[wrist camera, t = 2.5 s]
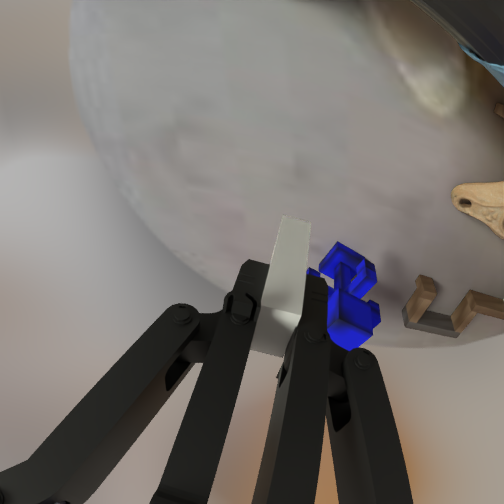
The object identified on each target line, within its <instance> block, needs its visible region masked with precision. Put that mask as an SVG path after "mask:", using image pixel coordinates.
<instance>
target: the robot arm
mask: <svg viewBox="0 0 504 504" xmlns="http://www.w3.org/2000/svg"><path fill="white" fill-rule="evenodd" d="M410 1H411V2H412V3H414V4H415V5H416V6H417V7H419V8H420V9H421V10H422V11H424V12H425V13H426V14H427V15H429V16H430V17H431V18H432V19H433V20H434V21H436V22H437V23H438V24H439V25H440V26H441V27H443V28H444V29H445V30H446V31H447V32H448V33H449V34H450V35H451V36H452V37H453V38H454V39H456V40H457V42H458V44H459V46H460V48H461V49H462V50H463V51H464V52H465V53H466V54H467V55H469V56H470V57H471V58H472V59H474V60H475V61H477V62H479V63H481V64H482V65H483V66H484V67H485V68H486V69H487V70H488V71H489V72H490V73H491V74H492V75H493V76H494V77H495V78H496V79H497V80H498V82H499V83H500V84H501V85H502V86H503V87H504V0H410ZM310 229H311V222H308V221H305V220H301V219H297V218H294V217H290V216H286V215H283V217H282V220H281V224H280V228H279V232H278V236H277V239H276V243H275V247H274V251H273V254H272V258H271V262H270V265H269V264H265V263H261V262H258V261H254V260H250V259H249V260H247V261H246V262H245V263H244V264H242V266H241V269H240V271H239V274H238V277H237V280H236V282H235V285H234V287H233V290H232V291H231V292H229V293H227V295H226V296H225V298H224V304H223V310H221V311H219V312H216V313H199V312H198V311H197V309H195V308H194V307H193V306H191V305H188V304H180V303H178V304H175V305H172V306H170V307H169V308H167V309H166V310H165V312H164V313H163V314H162V315H161V316H160V317H159V318H158V319H157V320H156V321H155V322H154V323H153V324H152V325H151V326H150V327H149V328H148V329H147V330H146V332H144V333H143V335H142V336H141V337H140V338H139V339H138V340H137V341H136V342H135V343H134V344H133V345H132V346H131V347H130V348H129V349H128V350H127V351H126V353H125V354H124V355H123V356H122V357H121V358H120V359H119V360H118V361H117V362H116V363H115V364H114V365H113V366H112V367H111V369H110V370H109V371H108V372H107V373H106V374H105V375H104V376H103V377H102V378H101V379H100V380H99V381H98V382H97V384H96V385H95V386H94V387H93V388H92V389H91V390H90V391H89V392H88V393H87V394H86V396H85V397H84V398H83V399H82V400H81V401H80V402H79V403H78V404H77V405H76V406H75V407H74V409H73V410H72V411H71V412H70V413H69V414H68V415H67V416H66V417H65V419H64V420H63V421H62V422H61V423H60V424H59V425H58V426H57V427H56V428H55V430H54V431H53V432H52V433H51V434H50V435H49V436H48V437H47V438H46V440H45V441H44V442H43V443H42V444H41V445H40V446H39V448H38V449H37V450H36V451H35V452H34V453H33V454H32V455H31V457H30V458H29V459H28V460H26V461H24V462H22V463H20V464H18V465H16V466H13V467H11V468H9V469H6V470H4V471H2V472H0V504H83V503H84V502H86V500H88V499H89V498H90V496H91V495H92V494H93V493H94V492H95V491H96V490H97V489H98V487H99V486H100V485H101V484H102V482H103V481H104V480H105V479H106V477H107V476H108V475H109V474H110V472H111V471H112V470H113V468H114V467H115V466H116V465H117V464H118V462H119V461H120V460H121V459H122V457H123V456H124V455H125V453H126V452H127V451H128V450H129V449H130V447H131V446H132V445H133V443H134V442H135V441H136V440H137V438H138V437H139V436H140V434H141V433H142V432H143V431H144V429H145V428H146V427H147V426H148V424H149V423H150V422H151V420H152V419H153V418H154V417H155V415H156V414H157V413H158V411H159V410H160V409H161V407H162V406H163V405H164V404H165V402H166V401H167V400H168V398H169V397H170V396H171V394H172V393H173V392H174V390H175V389H176V388H177V387H178V385H179V384H180V383H181V381H182V380H183V379H184V377H185V376H186V375H187V373H188V372H189V371H190V370H191V368H192V367H193V366H194V364H195V363H203V366H202V369H201V371H200V374H199V377H198V380H197V382H196V385H195V388H194V391H193V393H192V396H191V399H190V401H189V404H188V407H187V409H186V412H185V415H184V418H183V420H182V423H181V426H180V429H179V431H178V434H177V437H176V440H175V442H174V445H173V448H172V451H171V454H170V456H169V459H168V462H167V465H166V467H165V470H164V473H163V476H162V478H161V482H160V484H159V487H158V489H157V490H156V492H155V493H154V495H153V497H152V499H151V501H150V504H207V502H208V498H209V495H210V492H211V488H212V485H213V481H214V478H215V474H216V471H217V467H218V464H219V460H220V457H221V453H222V449H223V446H224V443H225V439H226V435H227V432H228V428H229V425H230V421H231V417H232V413H233V410H234V407H235V403H236V399H237V395H238V392H239V388H240V385H241V381H242V377H243V373H244V370H245V366H246V362H247V358H248V354H249V351H250V350H254V351H258V352H262V353H266V354H270V355H274V356H278V357H282V358H283V356H284V354H285V356H284V362H283V364H282V366H281V368H280V370H279V372H278V374H277V377H276V378H278V384H277V389H276V394H275V399H274V404H273V409H272V414H271V419H270V424H269V429H268V434H267V438H266V443H265V448H264V452H263V457H262V461H261V465H260V470H259V474H258V478H257V483H256V487H255V491H254V495H253V500H252V504H314V502H315V496H316V489H317V483H318V475H319V468H320V461H321V452H322V444H323V435H324V425H325V416H326V419H327V425H328V431H329V437H330V444H331V450H332V457H333V464H334V471H335V478H336V485H337V493H338V500H339V504H413V499H412V495H411V489H410V484H409V479H408V474H407V470H406V465H405V461H404V457H403V452H402V448H401V444H400V440H399V435H398V432H397V428H396V424H395V420H394V416H393V413H392V409H391V405H390V402H389V398H388V395H387V391H386V388H385V384H384V381H383V377H382V374H381V371H380V367H379V364H378V361H377V359H376V357H375V355H373V354H372V353H371V352H370V351H369V350H366V349H364V348H353V349H352V350H351V351H348V350H346V349H344V348H342V347H340V346H339V345H337V344H336V343H334V342H333V341H332V339H331V338H330V335H329V333H328V331H327V317H328V285H327V283H326V281H325V279H324V278H321V277H317V276H314V275H310V274H306V271H307V261H308V251H309V240H310Z"/></svg>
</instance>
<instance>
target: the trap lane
mask: <svg viewBox="0 0 504 504" xmlns="http://www.w3.org/2000/svg"><path fill="white" fill-rule="evenodd" d="M494 113H496V114H497V115H499V116H501V117H502V118H504V105H502V104H499V103H496V107H495V110H494ZM415 282H416V286H417V289H416V290H415V292H414V294H413V295H412V297H411V298H410V300H409V301H408V303H407V304H406V306H405V307H404V309H403V310H402V314H403V320H404V325H405V327H406V328H410V329H415V330H420V331H424V332H429V333H434V334H438V335H443V336H448V337H453V338H457V337H458V336H459V335H460V333H461V332H462V331H463V330H464V329H465V327H466V326H467V325H468V324H469V323H470V321H471V320H472V319H473V318H474V316H475V315H476V314H477V313H481V314H484V315H488V316H492V317H496V318H500V319H503V320H504V299H503V300H502V299H499V298H495V297H492V296H489V295H486V294H483V293H479V292H476V291H473V290H469V292H468V293H467V295H466V296H465V297H464V299H463V300H462V302H461V303H460V304H459V306H458V307H457V308H456V310H455V311H454V312H453V314H452V315H451V316H447V315H443V314H439V313H435V312H431V311H427V310H426V309H427V308H428V306H429V305H430V304H431V302H432V301H433V299H434V298H435V296H436V295H437V292H436V289H435V286H434V283H433V280H432V278H430V277H426V276H423V275H419V276H418V278H417V279H416V281H415Z"/></svg>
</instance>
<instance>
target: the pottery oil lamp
mask: <svg viewBox="0 0 504 504" xmlns="http://www.w3.org/2000/svg"><path fill="white" fill-rule="evenodd" d="M451 198H452V202H453V204H454V206H455V207H456V208H457V209H458V210H459V211H461V212H463V213H465V214H467V215H470V216H472V217H474V218H477V219H478V220H480V221H482V222H484V223H485V224H486V225H487V226H489V227H490V229H491V230H492V231H493V232H494V233H495V234H496V235H497V236H499V237H500V238H501V239H504V181H500V182H488V183H464V184H460V185H458V186H456V187H455V188H454V189H453V190H452V192H451Z"/></svg>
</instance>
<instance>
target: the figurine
mask: <svg viewBox="0 0 504 504" xmlns="http://www.w3.org/2000/svg"><path fill="white" fill-rule="evenodd" d="M319 272H321V273H323V274H325V275H327V276H328V277H330V278H332V279H334V289H333V288H332V287H330V286H328V317H327V331H328V333H329V335H330V338H331V339H332V341H333V342H334V343H336V344H337V345H339V346H340V347H342V348H344V349H346V350H348V351H351V350H352V349H353V348H358V347H359V346H360V345H361V344H363V343H364V342H365V341H366V340H368V339H369V338H370V337H371V336H372V335H373V328H374V327H376V326H377V325H378V324H379V323H380V322H381V318H380V310H379V304H377V303H376V302H374V301H372V300H369V301H368V302H365V301H363V300H361V298H362V297H363V296H364V295H365V294H366V293H367V292H368V291H369V290H370V289H371V288H372V287H373V286H374V285H375V284H376V283H377V277H376V271H375V265H374V264H373V263H371V262H369V261H368V260H366V259H365V257H363V256H362V255H360V254H358V253H357V252H355V251H353V250H351V249H350V248H348V247H346V246H345V245H343V244H341V243H339V242H338V241H337V243H336V244H335V245H334V246H333V248H332V249H331V250H330V251H329V253H328V254H327V255H326V256H325V258H324V259H323V260H322V261H321V263H320V264H319ZM319 272H318V271H316V270H314V269H312V268H310V267H309V268H308V270H307V271H306V274H310V275H314V276H317V277H320V273H319ZM356 274H357V277H356V278H355V279H354V280H353V281H352V282H351V279H352V278H353V277H354V276H355V275H356Z"/></svg>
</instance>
